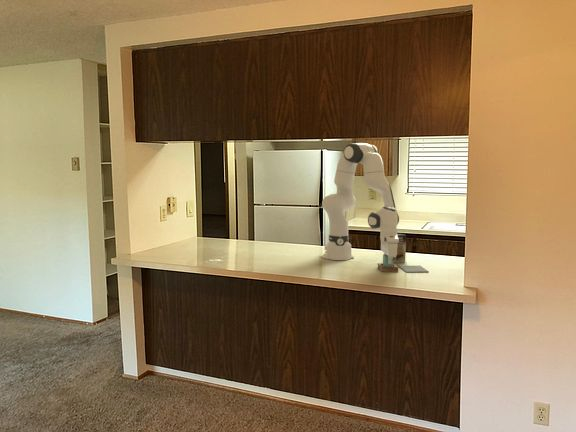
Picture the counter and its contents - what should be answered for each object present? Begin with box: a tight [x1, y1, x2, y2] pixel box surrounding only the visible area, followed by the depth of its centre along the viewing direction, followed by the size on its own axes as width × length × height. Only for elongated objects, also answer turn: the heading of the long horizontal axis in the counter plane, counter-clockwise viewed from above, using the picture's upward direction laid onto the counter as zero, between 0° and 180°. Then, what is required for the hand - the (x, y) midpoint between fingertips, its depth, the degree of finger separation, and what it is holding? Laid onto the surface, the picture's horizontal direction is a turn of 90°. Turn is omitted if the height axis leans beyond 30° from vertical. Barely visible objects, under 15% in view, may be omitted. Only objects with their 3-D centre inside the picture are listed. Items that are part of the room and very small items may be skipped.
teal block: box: [382, 253, 393, 267], centre depth 264 cm, size 4×4×8 cm
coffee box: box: [393, 233, 407, 264], centre depth 284 cm, size 9×6×16 cm
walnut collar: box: [377, 262, 399, 273], centre depth 264 cm, size 9×9×2 cm
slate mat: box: [398, 265, 429, 274], centre depth 265 cm, size 14×12×1 cm
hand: (388, 262), depth 264 cm, fingers closed on teal block, 4 cm apart
